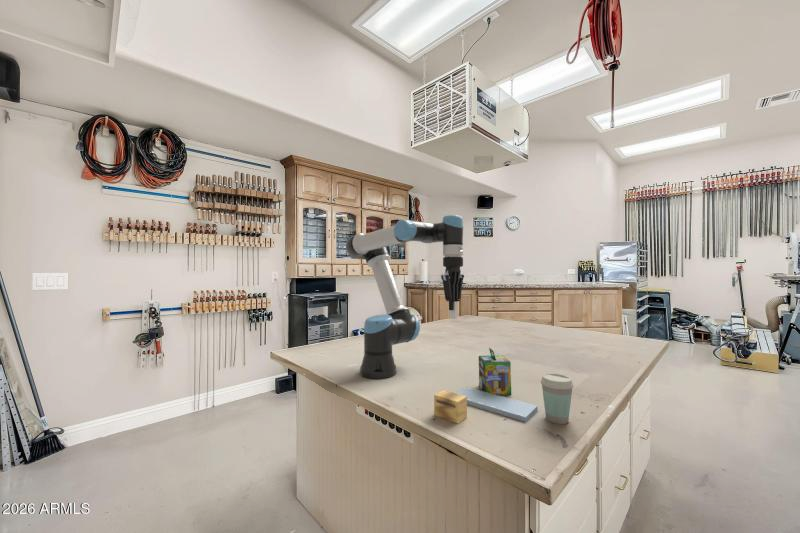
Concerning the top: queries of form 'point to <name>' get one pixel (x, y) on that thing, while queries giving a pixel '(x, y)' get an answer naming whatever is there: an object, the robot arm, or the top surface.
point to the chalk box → (495, 374)
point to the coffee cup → (557, 397)
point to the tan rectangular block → (450, 406)
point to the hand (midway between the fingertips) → (453, 318)
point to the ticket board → (499, 404)
